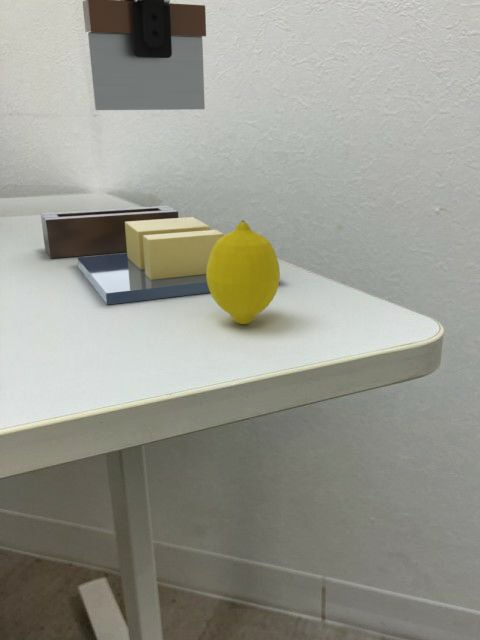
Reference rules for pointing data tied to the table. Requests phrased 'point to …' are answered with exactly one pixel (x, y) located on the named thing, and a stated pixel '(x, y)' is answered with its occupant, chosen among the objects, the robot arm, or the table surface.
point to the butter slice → (178, 253)
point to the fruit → (243, 273)
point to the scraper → (145, 59)
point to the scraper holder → (94, 229)
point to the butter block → (152, 227)
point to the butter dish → (134, 280)
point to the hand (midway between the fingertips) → (147, 55)
